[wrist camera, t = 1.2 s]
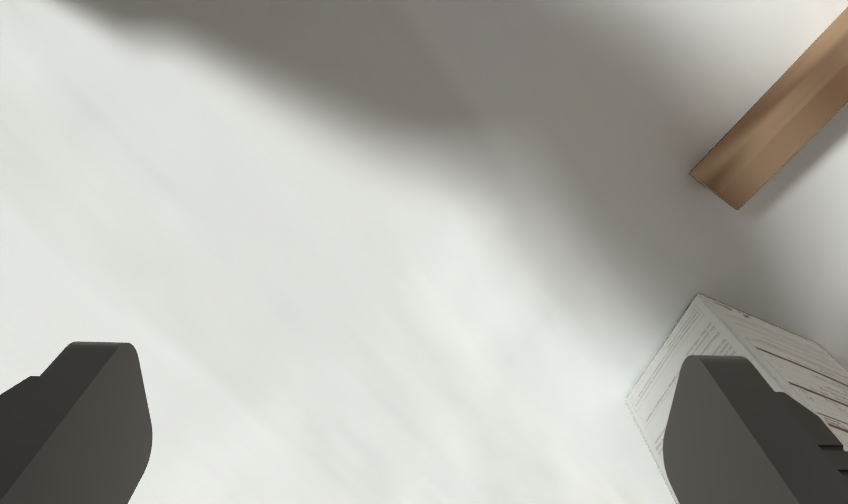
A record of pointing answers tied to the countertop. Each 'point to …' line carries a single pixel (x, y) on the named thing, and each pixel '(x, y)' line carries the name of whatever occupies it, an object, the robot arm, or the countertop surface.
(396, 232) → the countertop surface
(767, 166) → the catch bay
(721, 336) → the supplement box
